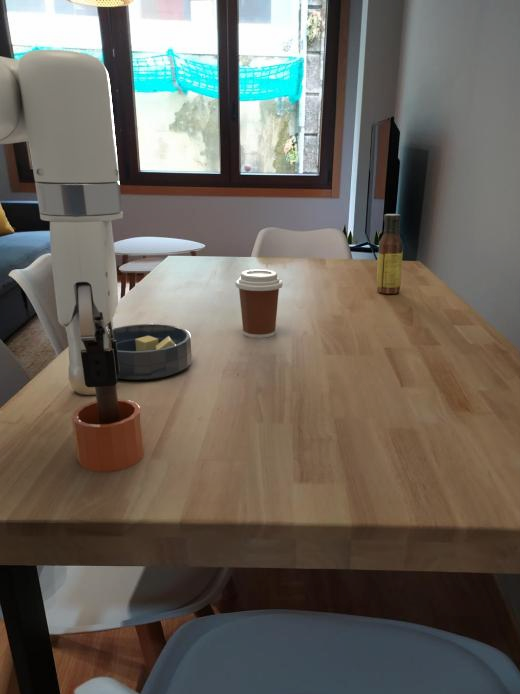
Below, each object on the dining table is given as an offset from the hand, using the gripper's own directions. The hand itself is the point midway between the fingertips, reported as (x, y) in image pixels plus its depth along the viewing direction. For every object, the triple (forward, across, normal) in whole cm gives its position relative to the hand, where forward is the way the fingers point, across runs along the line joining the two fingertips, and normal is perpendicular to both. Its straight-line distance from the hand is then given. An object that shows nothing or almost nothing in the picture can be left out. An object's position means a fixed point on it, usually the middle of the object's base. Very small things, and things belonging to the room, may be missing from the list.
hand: (103, 379), depth 59 cm
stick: (+8, 0, 0) cm, 8 cm away
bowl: (+10, -30, +2) cm, 32 cm away
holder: (+10, 0, 0) cm, 10 cm away
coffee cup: (+10, -46, +24) cm, 53 cm away
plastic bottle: (+10, -20, -5) cm, 23 cm away
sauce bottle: (+10, -77, +63) cm, 100 cm away
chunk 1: (+8, -34, +2) cm, 35 cm away
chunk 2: (+7, -29, +6) cm, 31 cm away
